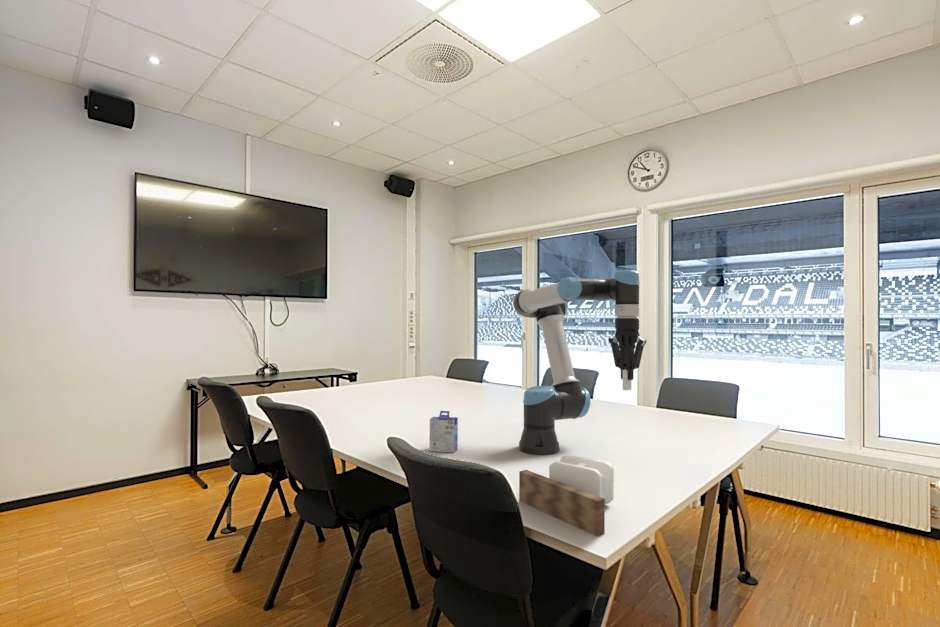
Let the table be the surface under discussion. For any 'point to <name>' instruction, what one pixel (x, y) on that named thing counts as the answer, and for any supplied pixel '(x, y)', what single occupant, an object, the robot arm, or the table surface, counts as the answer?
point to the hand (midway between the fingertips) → (627, 389)
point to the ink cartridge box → (444, 433)
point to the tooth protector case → (585, 475)
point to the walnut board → (563, 502)
